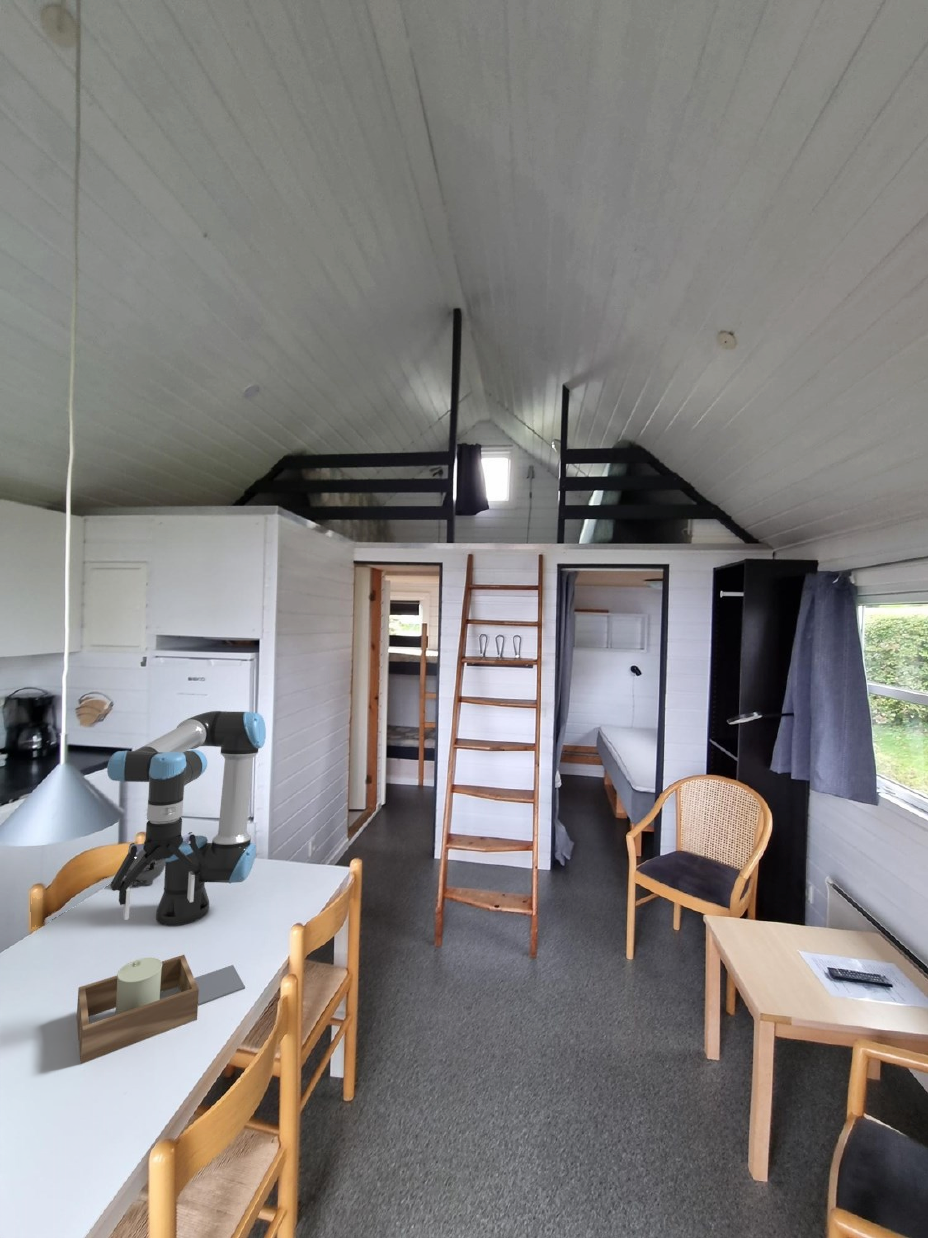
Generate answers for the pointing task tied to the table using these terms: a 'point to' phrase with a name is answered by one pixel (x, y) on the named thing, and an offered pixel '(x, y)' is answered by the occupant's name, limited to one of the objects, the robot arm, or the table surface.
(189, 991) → the crate
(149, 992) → the can
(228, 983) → the mat
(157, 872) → the piggy bank
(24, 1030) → the table surface
